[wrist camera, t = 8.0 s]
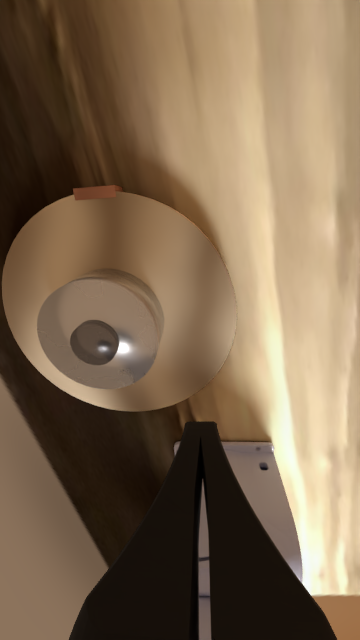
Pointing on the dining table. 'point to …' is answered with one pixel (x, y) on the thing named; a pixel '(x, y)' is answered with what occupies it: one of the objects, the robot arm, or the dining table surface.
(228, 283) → the turntable
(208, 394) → the dining table surface
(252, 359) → the dining table surface
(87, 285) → the cover
